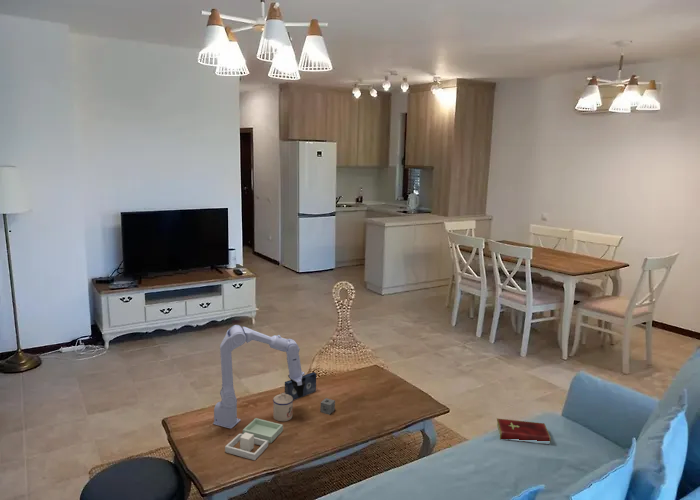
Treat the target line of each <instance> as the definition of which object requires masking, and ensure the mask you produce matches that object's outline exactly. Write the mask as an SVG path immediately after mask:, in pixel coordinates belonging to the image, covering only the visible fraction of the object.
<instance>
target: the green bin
mask: <svg viewBox="0 0 700 500" xmlns="http://www.w3.org/2000/svg"><path fill="white" fill-rule="evenodd" d="M283 431H284V424H281V423H278V422H273V421H269V420H265V419H262V418H258V417H255V418H254V419H253V420H252V421H251V422H249V423H248V425H246V426H245V427H244V428H243V429H242V434H244V433H245V432H246V433H250V434H254V437H256V438H259V439H263V440H267V441H268V444H272V443H273V442H274V441H275V439H277V437H278V436H280V434H281V433H282V432H283Z"/></svg>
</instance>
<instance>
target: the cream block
mask: <svg viewBox="0 0 700 500" xmlns="http://www.w3.org/2000/svg"><path fill="white" fill-rule="evenodd" d="M242 434H243V433H242ZM254 445H255V444H254V434H250V433H246V432H245V433H244V434H243V435H242V436H241V437H240V441H239V449H241V450H245V451H248V452H252V450H253V449H254V448H255V446H254Z"/></svg>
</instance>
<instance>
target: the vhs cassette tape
mask: <svg viewBox="0 0 700 500" xmlns="http://www.w3.org/2000/svg"><path fill="white" fill-rule="evenodd" d="M301 381H302V382H304V381H305V386H304V389H303V396H302V397H305V396H308V395H310V394H313V393H315V392H316V391H317V373H316V372H315V371H313V372H310V373H306V374H305V375H303V376H302V380H301ZM284 393H285V394H288V395H291V396H292V397H293V401H295V400H297V399H298V400H299V399H301V398H302V397H298V395H297V392H296V390H295V389H294V387H293V385H292V381H291V380H290V379H289V380H287V381H285V382H284Z"/></svg>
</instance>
